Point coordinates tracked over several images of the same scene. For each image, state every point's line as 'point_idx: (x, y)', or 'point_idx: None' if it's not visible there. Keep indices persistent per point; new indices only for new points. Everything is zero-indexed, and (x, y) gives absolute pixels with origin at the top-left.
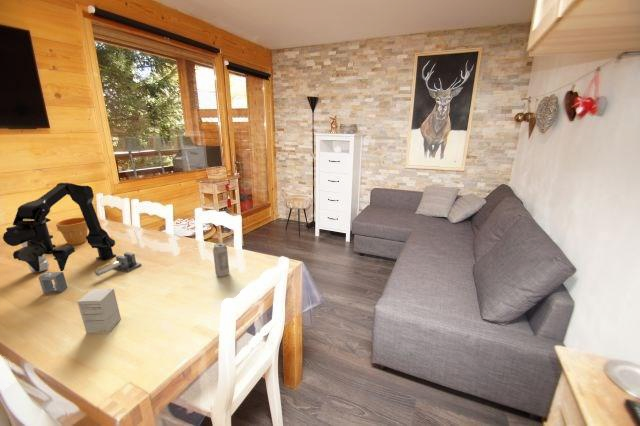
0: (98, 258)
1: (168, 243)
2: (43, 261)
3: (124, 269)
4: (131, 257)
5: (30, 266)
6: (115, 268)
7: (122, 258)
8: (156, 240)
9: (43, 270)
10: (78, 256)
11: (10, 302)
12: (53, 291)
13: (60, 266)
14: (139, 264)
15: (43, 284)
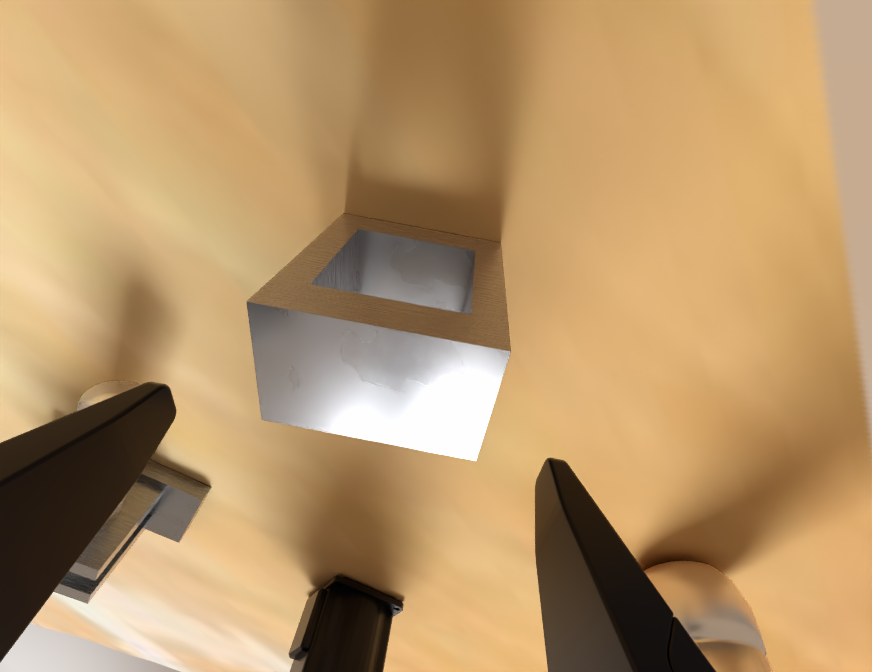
0: (382, 600)
1: (133, 627)
2: None
3: None
4: None
5: (745, 624)
6: (186, 479)
7: None
8: (220, 659)
9: (651, 570)
10: (520, 642)
11: (775, 124)
12: (398, 231)
13: (19, 443)
14: None
15: (472, 285)
